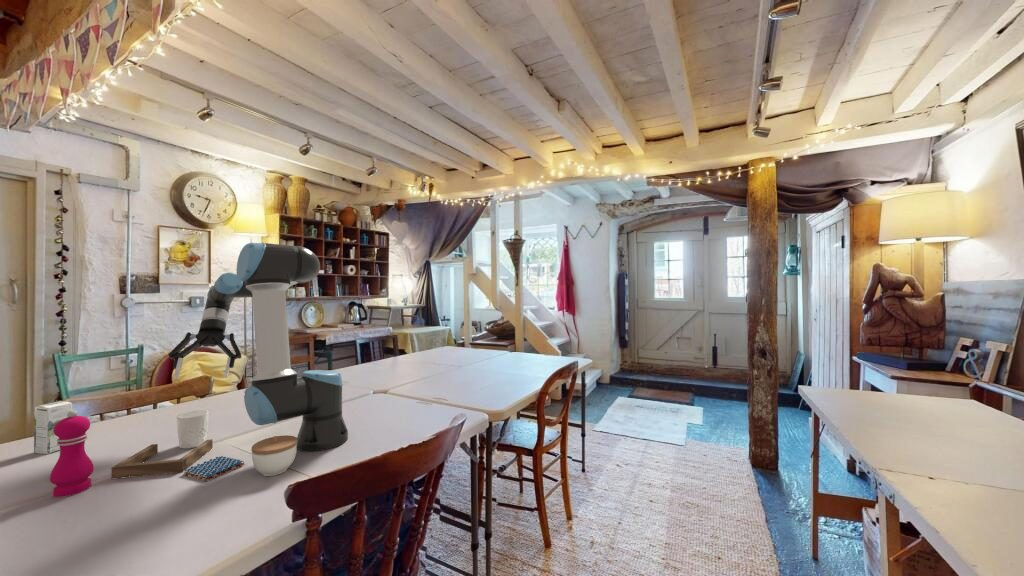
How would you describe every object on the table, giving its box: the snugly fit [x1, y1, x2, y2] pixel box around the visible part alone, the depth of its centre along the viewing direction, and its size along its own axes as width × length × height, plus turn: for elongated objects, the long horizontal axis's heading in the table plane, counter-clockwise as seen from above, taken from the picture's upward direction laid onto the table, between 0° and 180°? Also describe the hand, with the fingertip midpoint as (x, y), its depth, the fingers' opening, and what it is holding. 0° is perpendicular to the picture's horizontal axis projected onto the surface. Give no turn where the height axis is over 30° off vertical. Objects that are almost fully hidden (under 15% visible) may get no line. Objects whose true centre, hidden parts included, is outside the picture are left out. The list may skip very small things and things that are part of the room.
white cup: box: [176, 409, 209, 450], centre depth 123 cm, size 8×8×10 cm
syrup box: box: [33, 400, 73, 455], centre depth 119 cm, size 6×6×14 cm
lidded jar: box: [251, 435, 298, 477], centre depth 105 cm, size 11×11×9 cm
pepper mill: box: [49, 409, 95, 498], centre depth 95 cm, size 7×7×20 cm
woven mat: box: [182, 455, 246, 482], centre depth 105 cm, size 10×11×2 cm
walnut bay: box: [110, 438, 214, 480], centre depth 110 cm, size 16×16×3 cm
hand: (201, 376), depth 130 cm, fingers open, 13 cm apart
